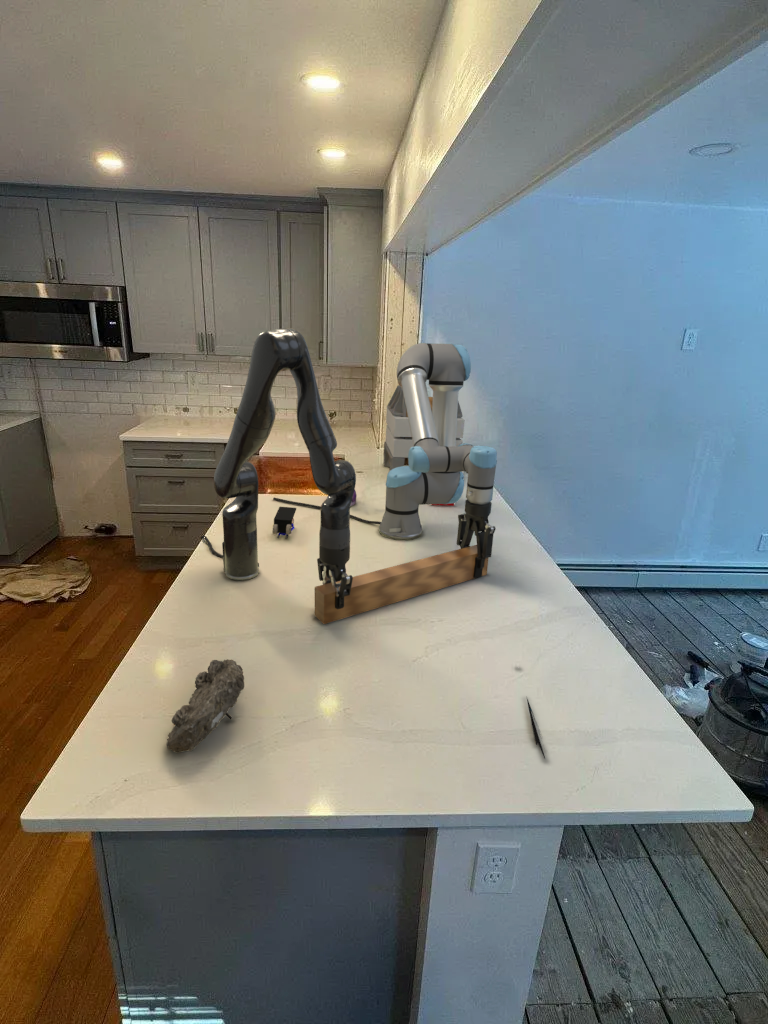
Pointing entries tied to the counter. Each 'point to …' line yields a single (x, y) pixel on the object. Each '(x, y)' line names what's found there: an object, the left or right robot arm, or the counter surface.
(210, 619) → the counter surface
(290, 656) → the counter surface
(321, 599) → the beam
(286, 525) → the figurine character
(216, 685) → the fossil
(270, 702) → the counter surface
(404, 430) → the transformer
